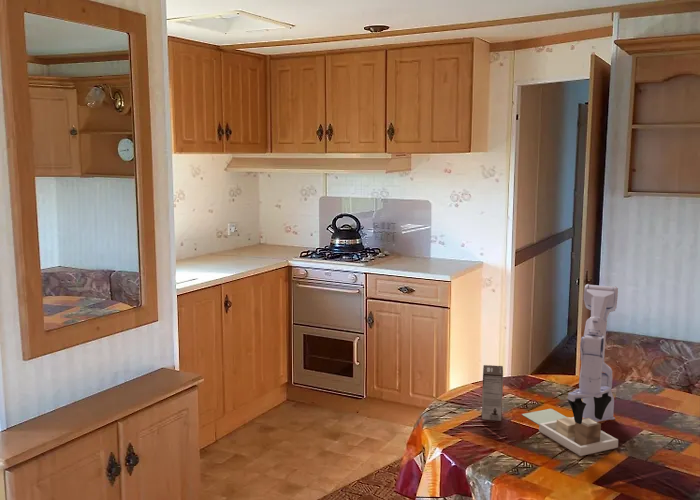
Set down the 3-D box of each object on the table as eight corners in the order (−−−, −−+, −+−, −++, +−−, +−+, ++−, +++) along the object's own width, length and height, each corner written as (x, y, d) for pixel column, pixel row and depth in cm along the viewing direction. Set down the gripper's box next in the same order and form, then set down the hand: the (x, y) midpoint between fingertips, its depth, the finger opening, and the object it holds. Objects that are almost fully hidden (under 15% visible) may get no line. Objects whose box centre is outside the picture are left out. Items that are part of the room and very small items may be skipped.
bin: (574, 425, 209) (575, 416, 208) (617, 449, 192) (618, 439, 192) (538, 432, 203) (539, 423, 203) (580, 457, 187) (580, 448, 187)
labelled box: (587, 439, 197) (588, 417, 196) (599, 446, 193) (601, 423, 192) (574, 442, 195) (575, 419, 194) (586, 449, 191) (587, 426, 190)
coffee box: (481, 410, 221) (483, 364, 219) (501, 411, 220) (502, 365, 217) (481, 421, 212) (483, 373, 210) (501, 422, 211) (503, 374, 209)
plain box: (569, 429, 205) (569, 417, 204) (580, 435, 200) (581, 423, 199) (556, 431, 203) (556, 419, 202) (567, 438, 198) (568, 425, 198)
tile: (550, 410, 221) (551, 408, 220) (576, 424, 210) (576, 422, 209) (521, 416, 216) (521, 414, 216) (545, 430, 205) (545, 428, 205)
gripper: (581, 383, 184) (578, 429, 186) (620, 377, 190) (617, 421, 192) (563, 376, 191) (561, 420, 193) (602, 369, 196) (599, 412, 198)
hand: (588, 420), depth 193 cm, fingers open, 7 cm apart
